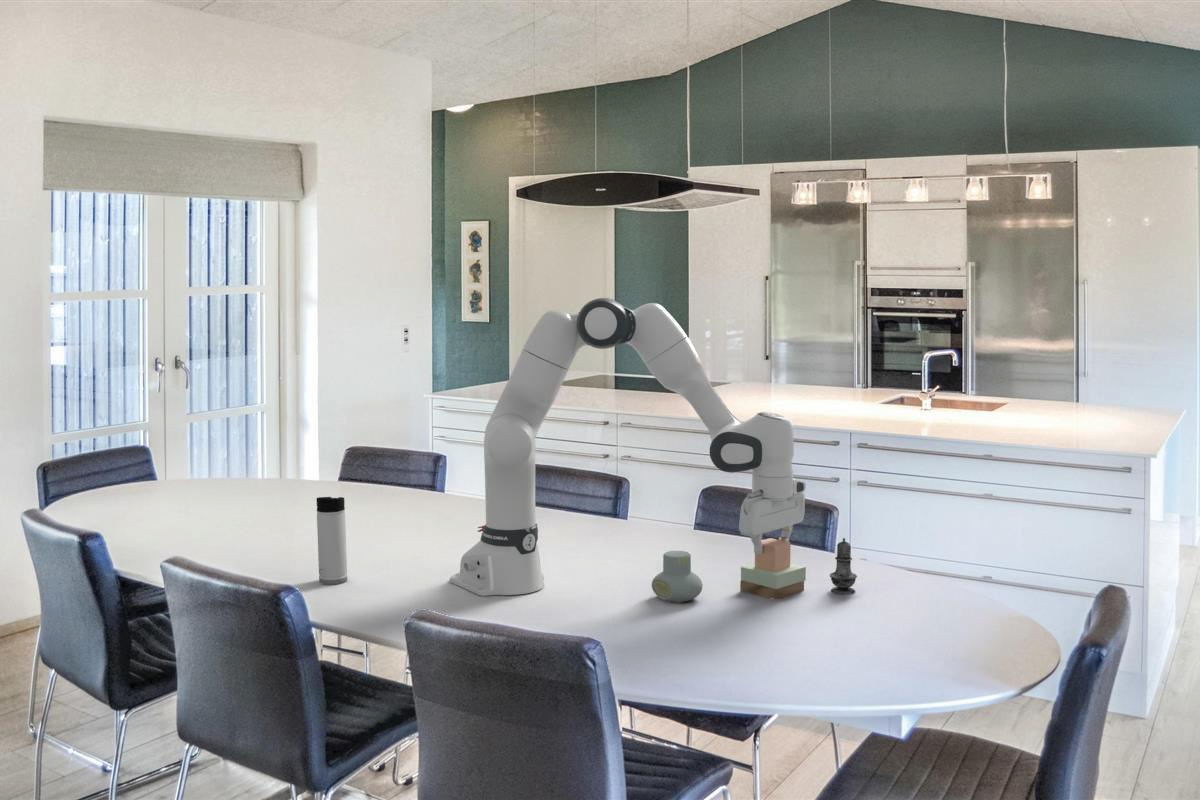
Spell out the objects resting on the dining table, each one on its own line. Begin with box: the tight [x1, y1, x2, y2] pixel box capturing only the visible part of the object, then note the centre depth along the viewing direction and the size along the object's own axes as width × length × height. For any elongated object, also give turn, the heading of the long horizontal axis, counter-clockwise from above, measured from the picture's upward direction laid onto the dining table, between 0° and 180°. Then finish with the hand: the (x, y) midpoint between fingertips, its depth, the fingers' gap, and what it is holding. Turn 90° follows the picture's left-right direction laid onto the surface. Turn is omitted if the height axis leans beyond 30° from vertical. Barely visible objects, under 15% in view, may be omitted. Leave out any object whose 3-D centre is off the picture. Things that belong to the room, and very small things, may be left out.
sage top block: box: [740, 562, 807, 589], centre depth 254 cm, size 10×10×3 cm
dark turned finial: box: [829, 537, 858, 596], centre depth 253 cm, size 6×6×12 cm
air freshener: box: [651, 550, 704, 604], centre depth 248 cm, size 11×8×10 cm
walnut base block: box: [739, 579, 805, 601], centre depth 254 cm, size 10×10×3 cm
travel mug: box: [316, 496, 348, 586], centre depth 263 cm, size 6×7×20 cm
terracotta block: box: [754, 537, 791, 571], centre depth 253 cm, size 6×6×6 cm
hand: (771, 549), depth 253 cm, fingers open, 8 cm apart
